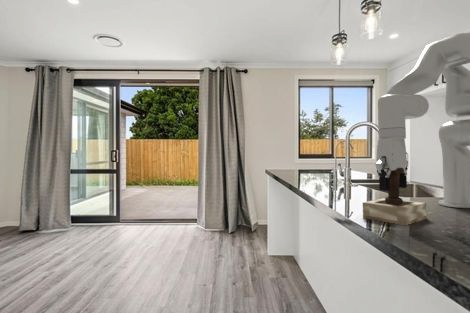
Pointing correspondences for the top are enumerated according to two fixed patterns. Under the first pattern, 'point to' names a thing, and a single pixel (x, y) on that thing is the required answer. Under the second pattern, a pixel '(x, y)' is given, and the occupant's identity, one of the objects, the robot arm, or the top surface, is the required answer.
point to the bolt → (394, 188)
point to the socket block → (395, 211)
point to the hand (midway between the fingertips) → (393, 188)
